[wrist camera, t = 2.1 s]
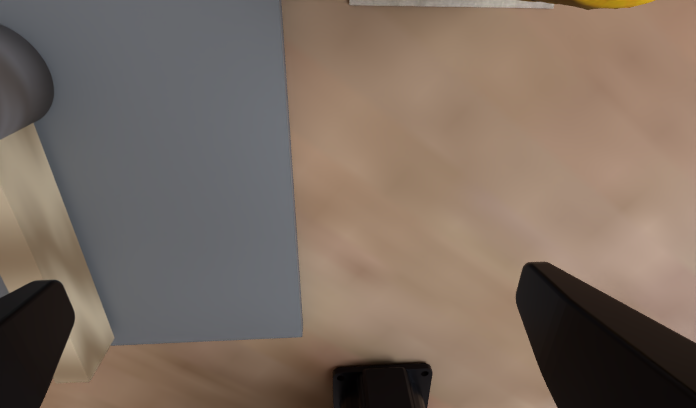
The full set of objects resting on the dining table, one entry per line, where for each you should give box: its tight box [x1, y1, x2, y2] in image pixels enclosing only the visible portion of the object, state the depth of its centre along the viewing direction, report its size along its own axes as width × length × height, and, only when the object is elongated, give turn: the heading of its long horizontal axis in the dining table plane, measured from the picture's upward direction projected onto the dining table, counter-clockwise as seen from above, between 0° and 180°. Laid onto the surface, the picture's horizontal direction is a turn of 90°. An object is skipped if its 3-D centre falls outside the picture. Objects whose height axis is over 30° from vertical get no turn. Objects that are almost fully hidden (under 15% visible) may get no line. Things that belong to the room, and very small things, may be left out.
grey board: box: [0, 0, 303, 346], centre depth 17 cm, size 26×20×1 cm
